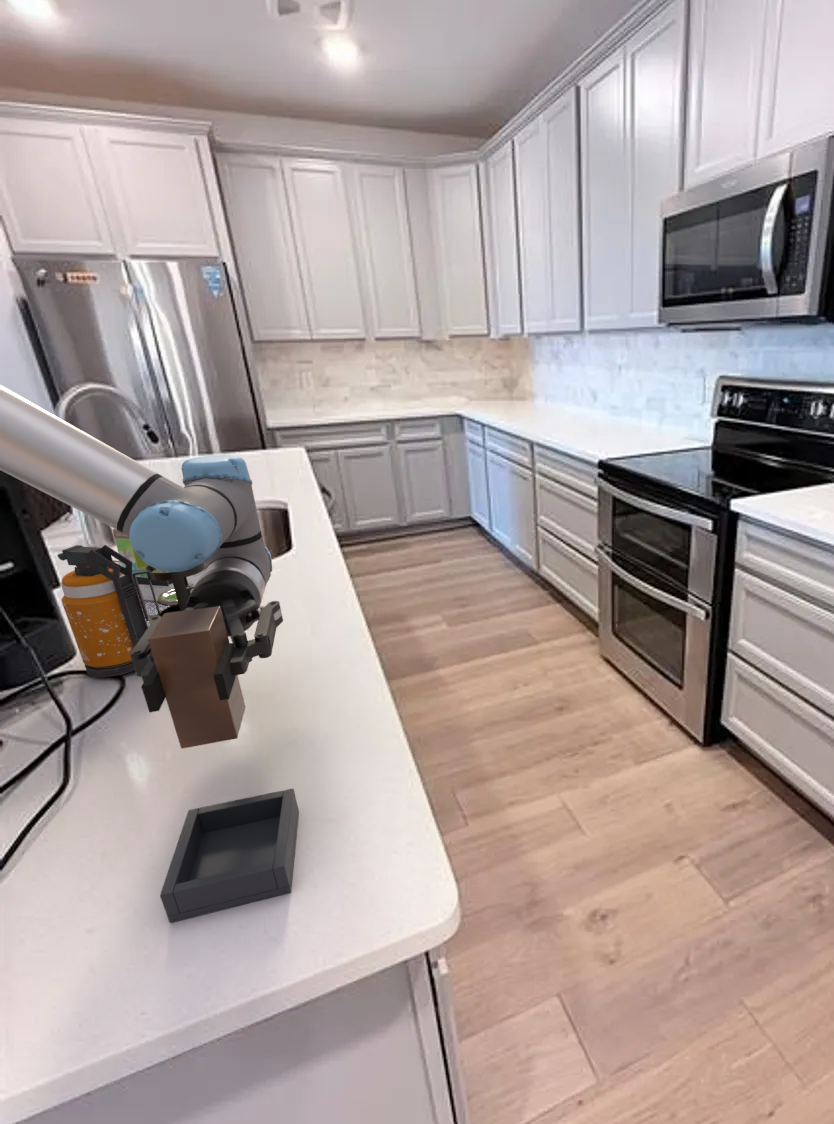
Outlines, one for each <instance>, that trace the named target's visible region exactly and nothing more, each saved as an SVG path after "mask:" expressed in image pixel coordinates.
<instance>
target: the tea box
mask: <svg viewBox="0 0 834 1124" xmlns="http://www.w3.org/2000/svg"><path fill="white" fill-rule="evenodd" d="M112 534H113V537H114V541H115V545H116V548H117V553H119V554H120V555H122V556H124V557H125V558H127V559H128V560H130V561H131V562H133V565H132V573H133V571H136V570H142V569H145V568H146V567H147V566H148V564H146V563H145V562H144V561H142V559H141V558H140V557H139V556H138V554H137V553H136V552H135V551H134V550H133V548H132V546H131V542H130V538H129V536H127V535H125V534H124V533H122V532H120V531H118V530H117V529H115V528H112ZM120 565H121V566H123V567H126V565H125V564H124V563H121V564H120ZM204 571H205V569H204V570H203V571H201V572H199V573H197V574H195V575H192V576H188V577H186V578H187V581H188V585H196V584H197V581H198V580H199V578H200V577H201V575H202V574H203V572H204ZM152 572H153V573H166V572H167V571H162V570H158V569H156V570H154V571H152ZM132 577H133V576H132ZM136 577H137V581H138V584H139V587H140V590H141V594H142V597H143V600H144V601H149V602H150V601H151V602H155V601H154V598H153V595H152V591H151V588H150V585H149V581H148V578H147V575H146V573H145V574H139V575H136ZM150 580H151V579H150ZM151 583H152V587H153V590H154V593H155V597H157V596H158V595H159V594H161V593H163V592H165V591H167V590H170V589H173V588H174V586H173V582H172V580H161V581H160V580H151ZM138 597H139V596H138ZM139 600H140V599H139Z"/></svg>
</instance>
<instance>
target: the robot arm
mask: <svg viewBox="0 0 834 1124" xmlns="http://www.w3.org/2000/svg"><path fill="white" fill-rule="evenodd" d="M0 471H1V472H3V473H5V474H7V475H10V476H11V477H13V478H15V479H17V480H19V481H21V482H23V483H25V484H27V485H29V486H31V487H32V488H35V489H36V490H38V491H40V492H42V493H44V494H46V495H48V496H50V497H52V498H54V499H56V500H57V501H60V502H63V503H64V504H66V505H67V506H70V507H71V508H73V509H76V510H78V511H79V512H81V513H84V514H85V515H87V516H90V517H91V518H93V519H95V520H96V521H99V522H101V523H103V524H105V525H107V526H109V527H111V528H112V529H117V530H118V531H120V532H122V533H124V534H125V535H127V536H129V538H130V542H131V546H132V548H133V550H134V551H135V552H136V553H137V554H138V556H139V557H140V558H141V559H142V561H144V562H145V563H146V564H148V565H149V566H151V567H153V568H155V569H158V570H162V571H167V572H182V571H187V570H189V569H192V568H194V567H196V566H197V565H199V564H200V563H202V562H203V561H205V565H206V568H205V571H204V572H203V574H202V575H201V577H200V578H199V580H198V581H197V584H196V586H195V587H194V589H193V591H192V592H191V594H190V596H189V598H188V601H187V606H186V609H185V610H193V609H201V608H209V607H217V606H220V607H221V611H222V615H223V619H224V623H225V627H226V631H227V635H228V638H229V637H230V640H231V642H229V643H228V644H225V646H224V649H223V651H222V654H221V656H220V659H219V662H218V664H217V667H216V669H215V672H214V674H213V676H214V680H215V684H216V687H217V691H218V695H219V699H220V700H226V699H229V697H230V694H231V691H232V688H233V684H234V681H235V678H236V675H238V676H239V675H244V674H246V673H247V671H248V669H249V665H250V663H251V662H252V661H253V659H254V658H255V657H258V658H260V659H267V658H270V657H271V656H272V653H273V648H274V643H275V637H276V632H277V628H278V627H279V626H280V625H281V624H282V623H283V622H284V618H283V614H282V609H281V603H280V601H279V600H272V601H269V602H268V603H267V604H265V605H261V604H262V601H263V597H264V593H265V591H266V587H267V584H268V582H269V581H270V578H271V575H272V571H273V563H272V562H273V559H272V553H271V552H270V549H268V547H267V545H265V542H264V537H263V534H262V530H261V529H262V528H261V525H260V520H259V515H258V510H257V505H256V499H255V495H254V490H253V480H252V479H251V477H250V473H249V472H250V471H249V470H248V466H247V463H246V461H245V460H244V458H243V457H241V456H239V455H235V454H211V455H210V454H209V455H202V456H196V457H192V458H189V459H186V460H184V461H183V462H182V464H181V473H182V481H181V482H182V484H183V485H184V486H182V485H180V484H178V483H176V482H174V481H173V480H170V479H168V478H167V477H166V476H164V475H161V474H159V473H158V472H156V471H155V470H153V469H151V468H149V467H148V466H146V465H144V464H143V463H140V462H138V461H137V460H135V459H133V458H131V457H130V456H128V455H126V454H125V453H123V452H121V451H119V450H117V449H116V448H114V447H112V446H110V445H108V444H107V443H105V442H103V441H101V440H99V439H98V438H96V437H94V436H93V435H91V434H88V432H85V431H84V430H82V429H80V428H78V427H76V426H75V425H73V424H71V423H69V422H68V421H65V420H64V419H62V418H60V417H59V416H57V415H55V414H53V413H51V412H49V411H48V410H46V409H45V408H43V407H41V406H39V405H37V404H35V402H32V401H30V400H29V399H27V398H25V397H24V396H21V395H19V394H18V393H16V392H15V391H12V390H11V389H9V388H7V387H5V386H3V385H2V384H0ZM185 610H183V611H185ZM161 618H162V617H161V616H153V617H151V618H149V621H148V622H149V626H148V629H147V630H146V631H145V633H144V634H143V636H142V637H141V638H140V640H139V641H138V643H137V644H136V646H135V647H134V648H133V650H132V651H131V653H130V656H131V659H132V662H133V666H134V669H135V671H134V672H135V675H136V676H137V677H139V678H141V679H142V682H143V683H142V684H141V686H140V687H141V690H142V694H143V696H144V699H145V703H146V706H147V709H148V712H149V713H154V712H160V710H161V708H162V706H163V704H164V702H165V701H166V697H165V694H164V691H163V687H162V684H161V681H160V677H159V674H158V671H157V668H156V665H155V661H154V658H153V655H152V652H151V648H150V645H149V642H148V638H149V636H150V635H151V633H152V632H153V630H154V629H155V627H156V626H157V624H158V622H159V621H160V619H161ZM256 622H257V624H256V628H255V631H254V635H253V637H254V638H252V639H249V640H248V637H247V632H246V631H248V630H249V629H250V628H251V627H252V626H253V625H254V624H255V623H256Z"/></svg>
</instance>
